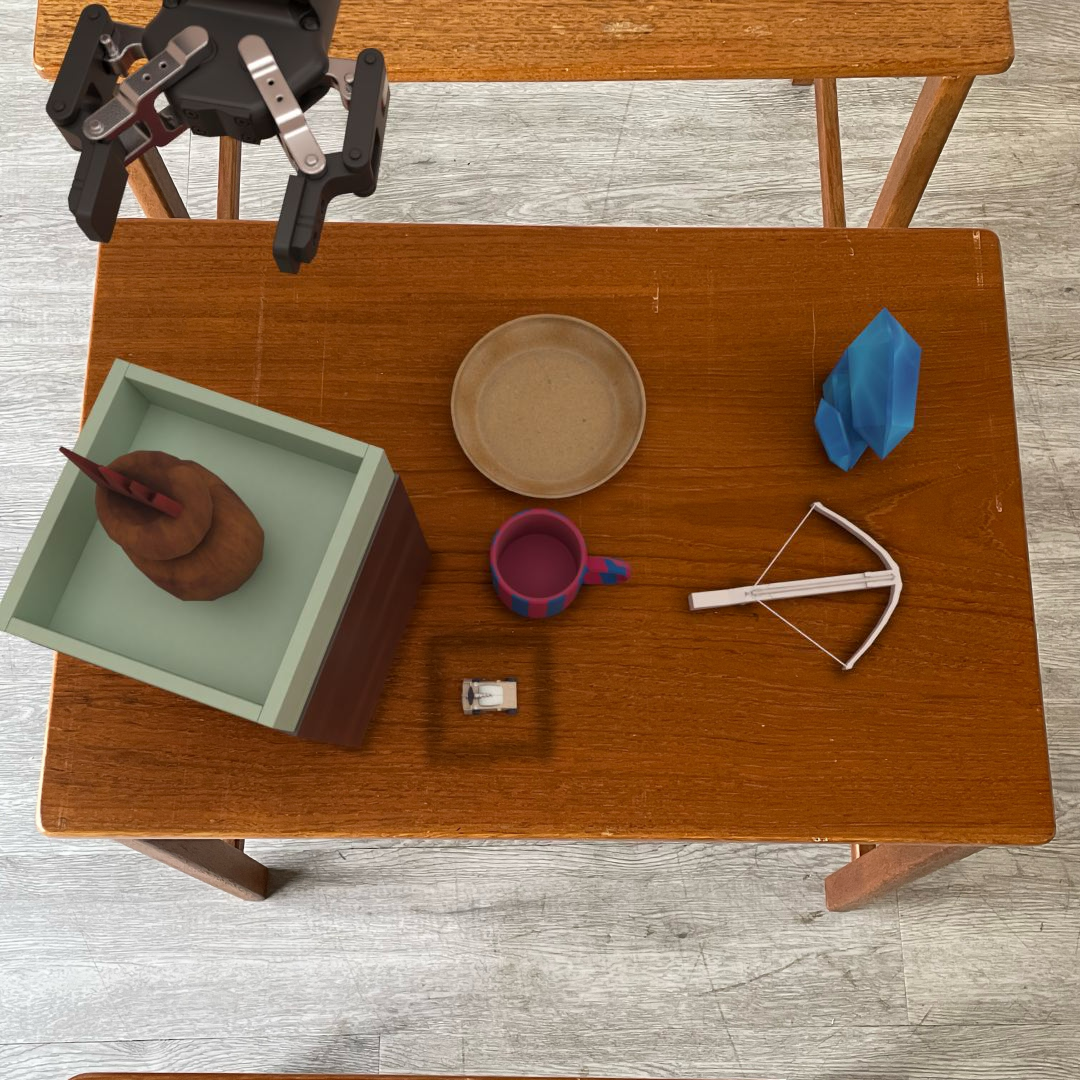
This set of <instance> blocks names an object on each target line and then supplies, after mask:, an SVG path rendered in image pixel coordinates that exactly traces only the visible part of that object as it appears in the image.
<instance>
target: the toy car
mask: <svg viewBox="0 0 1080 1080" xmlns="http://www.w3.org/2000/svg"><path fill="white" fill-rule="evenodd" d="M517 686H518V678H517V677H512V676H511V677H510V676H509V677H505V678H504V680H499V679H497V680H485V678H480V677H475V678H463V682H462V693H461V694H460V697H461V703H460V704H462V711H463V714H464V715H473V716H476V715H477V716H479V715H482V714H485V713H486V712H503V711H505V715H518V714H519V713H518V711H519V710H518V709H519V708H518V705H517V704H518V703H517Z"/></svg>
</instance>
